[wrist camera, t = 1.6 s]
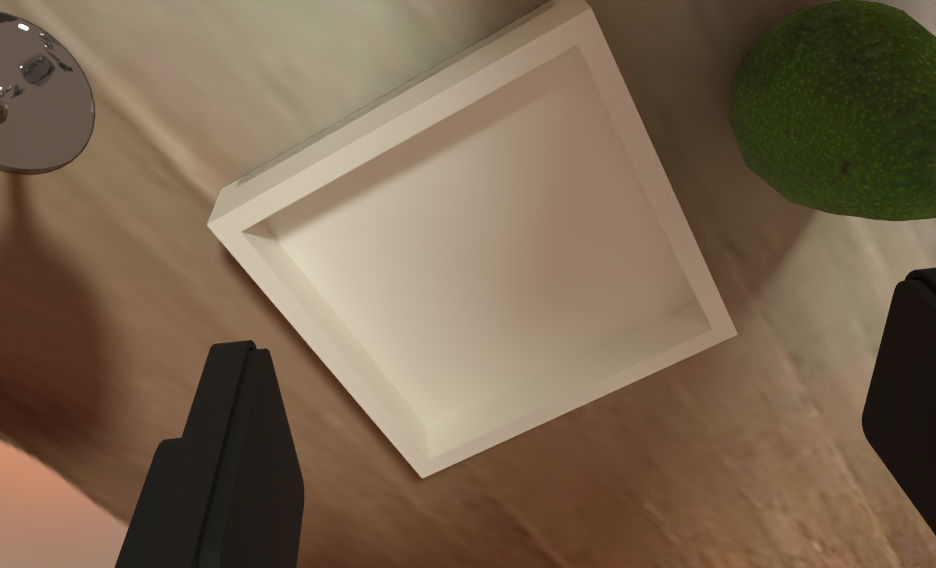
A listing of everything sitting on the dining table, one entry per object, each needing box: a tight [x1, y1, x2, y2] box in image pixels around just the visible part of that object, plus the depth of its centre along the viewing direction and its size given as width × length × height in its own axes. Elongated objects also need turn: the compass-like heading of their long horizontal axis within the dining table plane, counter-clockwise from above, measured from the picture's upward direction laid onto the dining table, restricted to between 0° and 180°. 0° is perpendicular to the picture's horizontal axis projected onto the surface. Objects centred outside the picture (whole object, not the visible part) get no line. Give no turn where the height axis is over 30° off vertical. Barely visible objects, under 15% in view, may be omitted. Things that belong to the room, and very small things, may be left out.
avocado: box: [729, 0, 936, 221], centre depth 31 cm, size 8×8×12 cm
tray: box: [207, 0, 738, 479], centre depth 38 cm, size 18×18×4 cm
